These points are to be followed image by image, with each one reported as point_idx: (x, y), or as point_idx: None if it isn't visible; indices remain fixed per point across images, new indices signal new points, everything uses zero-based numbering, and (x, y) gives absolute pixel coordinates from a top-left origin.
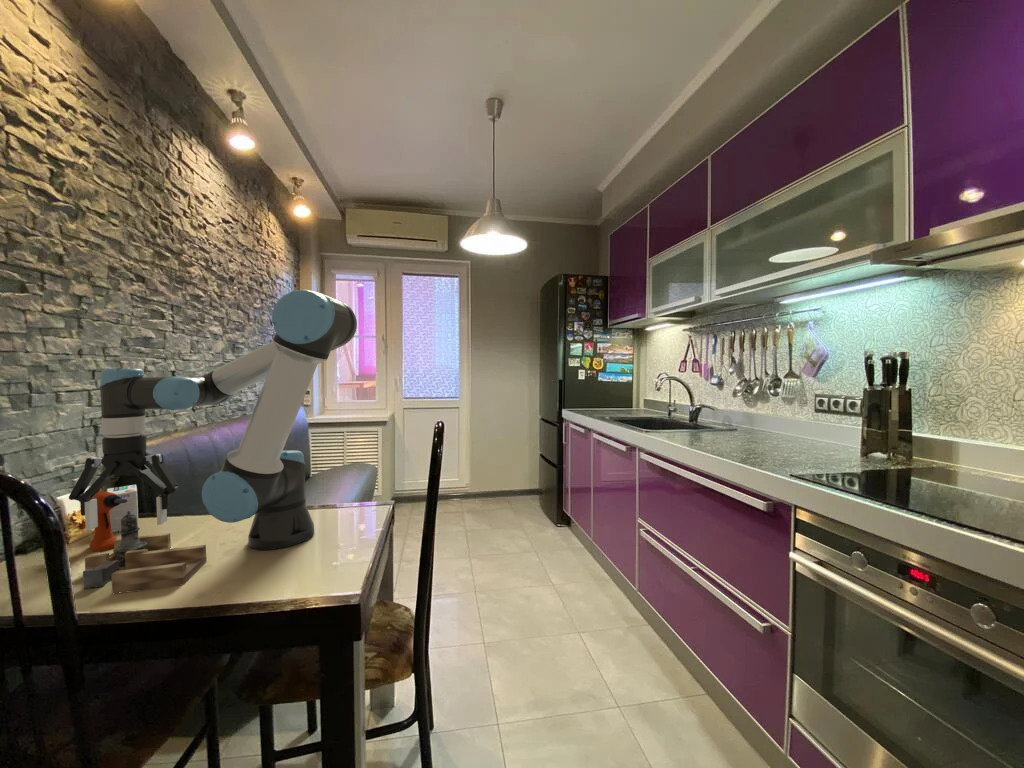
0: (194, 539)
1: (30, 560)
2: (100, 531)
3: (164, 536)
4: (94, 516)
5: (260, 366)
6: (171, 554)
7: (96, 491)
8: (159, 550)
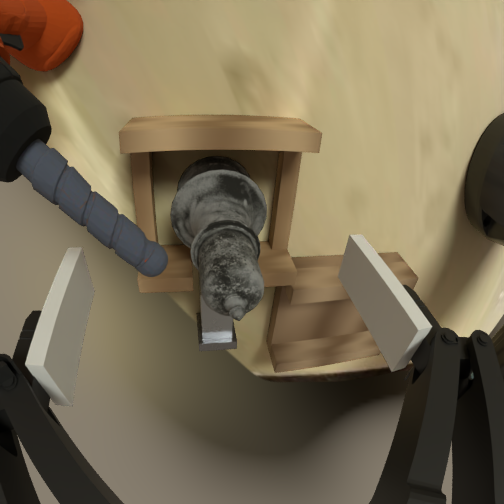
0: (348, 49)
1: None
2: (6, 48)
3: (305, 149)
4: (73, 303)
5: None
6: None
7: (63, 436)
8: (331, 290)
